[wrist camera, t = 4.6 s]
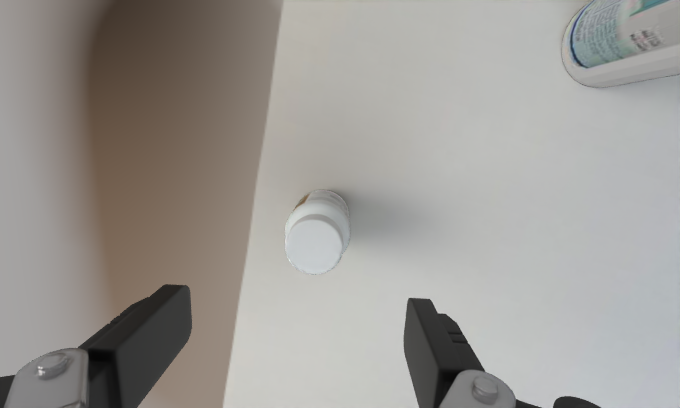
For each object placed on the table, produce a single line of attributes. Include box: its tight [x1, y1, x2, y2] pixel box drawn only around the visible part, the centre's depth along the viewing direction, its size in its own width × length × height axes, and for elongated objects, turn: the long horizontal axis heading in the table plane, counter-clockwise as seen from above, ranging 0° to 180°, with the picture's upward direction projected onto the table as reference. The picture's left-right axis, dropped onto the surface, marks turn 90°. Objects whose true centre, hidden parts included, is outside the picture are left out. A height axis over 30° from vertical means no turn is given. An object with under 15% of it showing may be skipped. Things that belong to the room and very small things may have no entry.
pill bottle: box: [285, 190, 350, 275], centre depth 22 cm, size 4×4×8 cm
